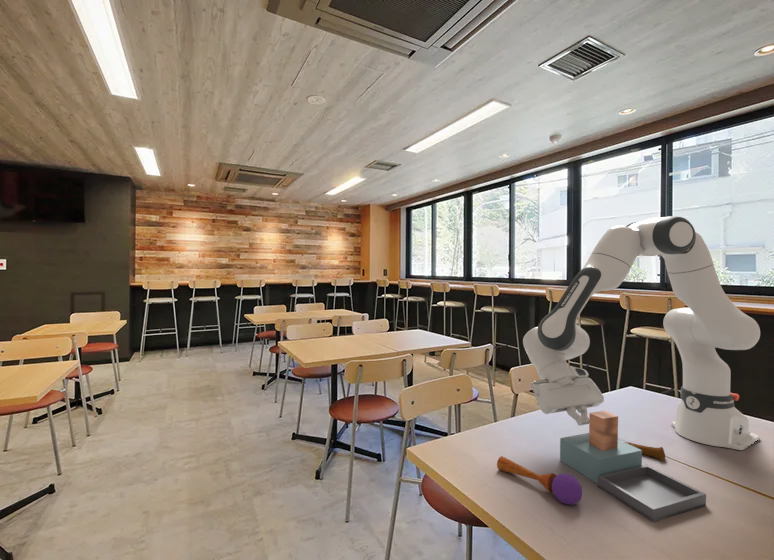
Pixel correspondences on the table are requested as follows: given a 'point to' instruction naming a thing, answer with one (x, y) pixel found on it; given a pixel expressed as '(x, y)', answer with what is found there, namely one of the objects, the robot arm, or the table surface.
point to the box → (651, 492)
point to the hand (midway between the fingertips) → (585, 424)
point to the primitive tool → (650, 451)
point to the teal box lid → (597, 456)
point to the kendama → (547, 481)
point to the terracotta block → (603, 430)
